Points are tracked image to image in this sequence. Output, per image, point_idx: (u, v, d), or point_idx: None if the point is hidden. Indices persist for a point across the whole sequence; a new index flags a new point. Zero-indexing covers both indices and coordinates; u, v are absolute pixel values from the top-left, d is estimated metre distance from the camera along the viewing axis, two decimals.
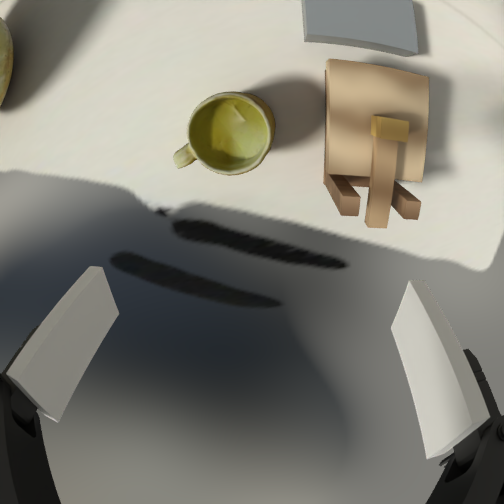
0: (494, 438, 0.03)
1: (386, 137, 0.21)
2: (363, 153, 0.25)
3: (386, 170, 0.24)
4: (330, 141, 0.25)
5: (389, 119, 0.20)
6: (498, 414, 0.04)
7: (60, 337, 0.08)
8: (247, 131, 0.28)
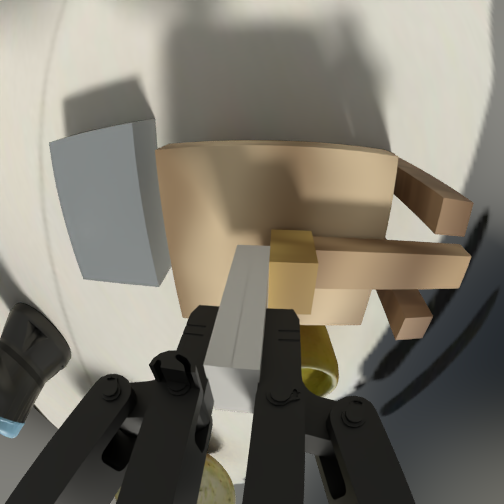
0: (263, 406, 0.06)
1: (308, 305, 0.12)
2: None
3: (375, 269, 0.13)
4: (312, 323, 0.17)
5: (270, 300, 0.12)
6: (299, 379, 0.07)
7: None
8: None
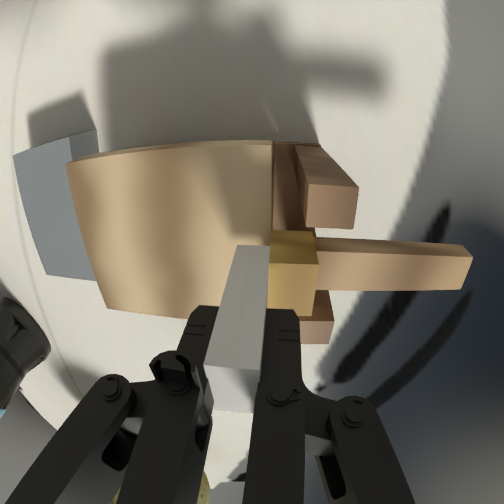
0: (263, 406, 0.06)
1: (309, 307, 0.12)
2: None
3: (376, 270, 0.12)
4: None
5: (270, 302, 0.12)
6: (299, 379, 0.07)
7: None
8: None
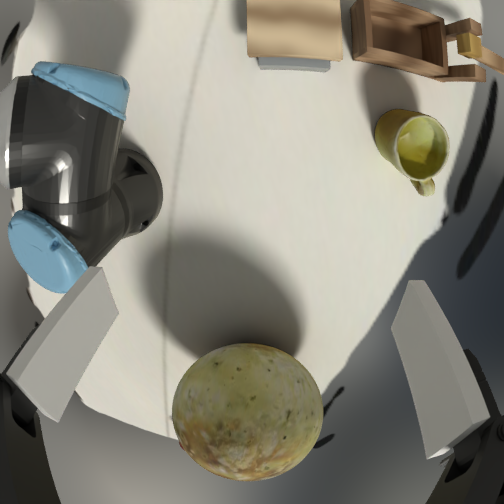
0: (494, 438, 0.03)
1: (481, 53, 0.16)
2: (278, 36, 0.24)
3: (491, 56, 0.16)
4: (247, 30, 0.24)
5: (471, 46, 0.16)
6: (498, 414, 0.04)
7: (60, 337, 0.08)
8: (417, 132, 0.29)
